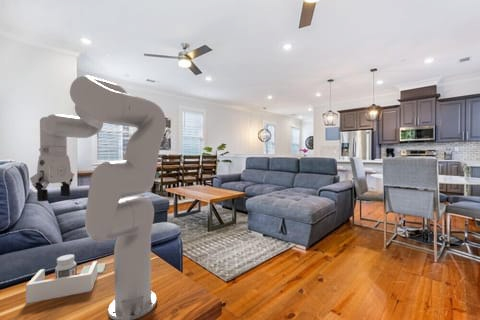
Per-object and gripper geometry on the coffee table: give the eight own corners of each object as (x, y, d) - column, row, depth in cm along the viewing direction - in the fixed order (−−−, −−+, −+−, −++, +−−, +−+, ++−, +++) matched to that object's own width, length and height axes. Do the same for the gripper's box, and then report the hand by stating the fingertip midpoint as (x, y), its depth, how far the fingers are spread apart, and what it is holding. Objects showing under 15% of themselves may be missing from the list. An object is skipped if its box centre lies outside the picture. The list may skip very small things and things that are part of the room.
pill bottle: (81, 282, 79) (80, 253, 79) (67, 292, 73) (66, 261, 73) (65, 281, 79) (65, 253, 79) (50, 291, 74) (50, 260, 74)
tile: (103, 272, 85) (103, 271, 85) (79, 276, 82) (79, 275, 82) (106, 264, 92) (106, 262, 92) (84, 267, 89) (84, 266, 89)
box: (91, 291, 74) (91, 274, 74) (26, 303, 68) (25, 285, 68) (97, 275, 83) (97, 260, 83) (40, 285, 77) (40, 269, 77)
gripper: (42, 151, 75) (43, 203, 75) (81, 151, 92) (81, 194, 92) (20, 151, 75) (21, 203, 75) (63, 151, 92) (63, 194, 93)
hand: (54, 198), depth 84 cm, fingers open, 9 cm apart
